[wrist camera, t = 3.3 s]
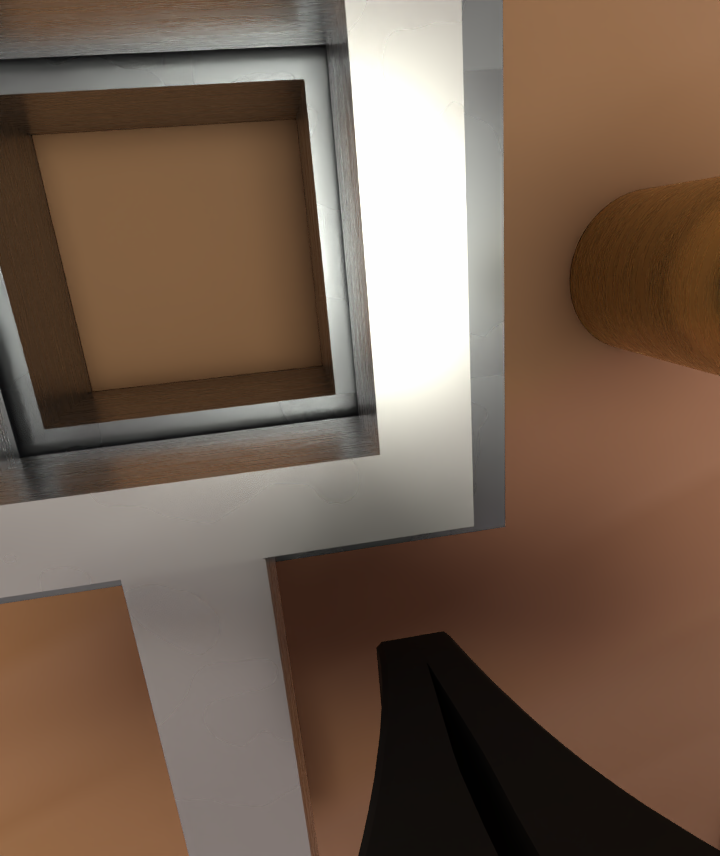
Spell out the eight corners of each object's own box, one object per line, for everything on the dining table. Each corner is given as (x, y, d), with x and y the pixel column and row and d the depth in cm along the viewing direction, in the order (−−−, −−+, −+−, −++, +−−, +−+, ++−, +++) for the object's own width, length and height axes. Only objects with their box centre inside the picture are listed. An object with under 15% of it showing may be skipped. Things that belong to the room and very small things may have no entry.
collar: (452, 886, 13) (488, 1011, 10) (107, 965, 12) (73, 1117, 10) (408, -64, 7) (463, -191, 5) (-234, -49, 6) (-481, -195, 4)
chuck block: (462, 476, 12) (504, 526, 10) (-22, 544, 11) (-97, 618, 9) (445, -81, 9) (502, -187, 7) (-225, -68, 8) (-416, -192, 6)
